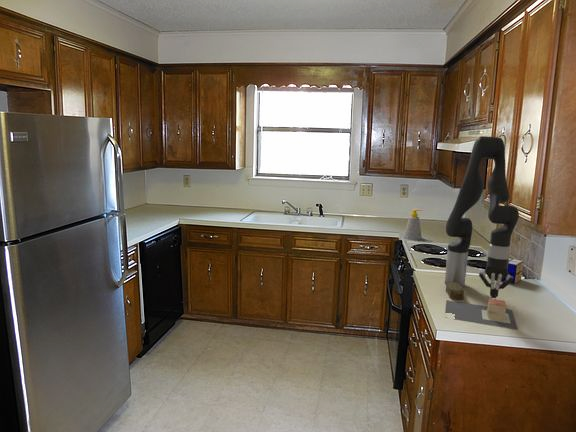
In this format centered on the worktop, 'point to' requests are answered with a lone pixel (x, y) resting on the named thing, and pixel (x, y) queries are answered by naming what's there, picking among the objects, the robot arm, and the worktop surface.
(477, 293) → the worktop surface
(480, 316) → the rubber mat
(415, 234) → the soap bottle
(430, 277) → the worktop surface
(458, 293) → the stone block
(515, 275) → the puzzle cube
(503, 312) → the maple cube
